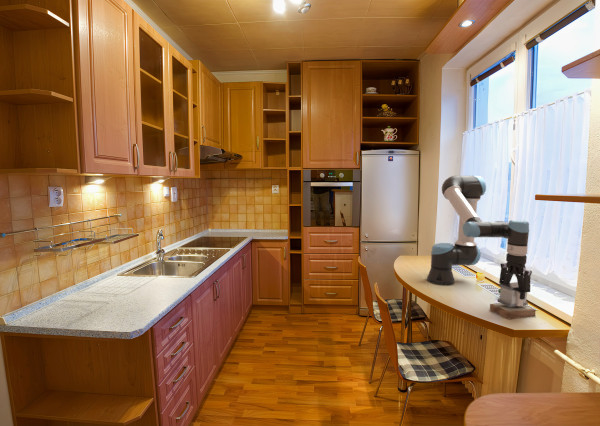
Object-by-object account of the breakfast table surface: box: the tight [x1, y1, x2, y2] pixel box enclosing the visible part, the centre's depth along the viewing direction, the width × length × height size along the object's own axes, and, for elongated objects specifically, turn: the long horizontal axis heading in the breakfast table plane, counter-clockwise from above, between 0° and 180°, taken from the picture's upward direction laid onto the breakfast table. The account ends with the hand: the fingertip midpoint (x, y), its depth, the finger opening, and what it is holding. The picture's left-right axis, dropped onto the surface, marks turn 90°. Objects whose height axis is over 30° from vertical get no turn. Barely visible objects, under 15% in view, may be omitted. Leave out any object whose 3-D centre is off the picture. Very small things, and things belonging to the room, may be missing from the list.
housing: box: [497, 281, 529, 307], centre depth 138 cm, size 6×10×9 cm, turn 103°
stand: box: [489, 302, 537, 320], centre depth 139 cm, size 10×15×3 cm, turn 103°
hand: (512, 302), depth 139 cm, fingers closed on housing, 6 cm apart
